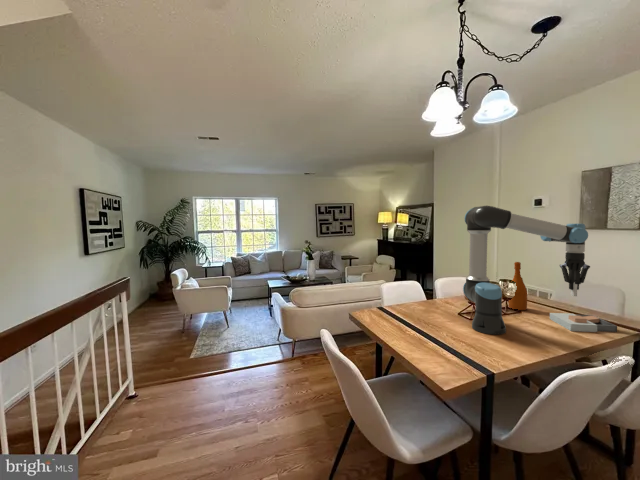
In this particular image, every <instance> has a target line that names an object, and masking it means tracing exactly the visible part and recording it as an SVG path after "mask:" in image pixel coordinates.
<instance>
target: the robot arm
mask: <svg viewBox="0 0 640 480" xmlns="http://www.w3.org/2000/svg"><path fill="white" fill-rule="evenodd" d="M464 223H465V224H466V227H467V228H466V231H467V232H468V233H469V265H468V266H469V267H468V276H466V278H465V283H464V284H463V286H462V287H463V288H462V291H463V294H464V295H465V297H466V298H467V299H468V300H469V301H471V302H473V303H475V305H474V306H475V314H474V317H473V318H472V321H471V328H472V329H473V330H474V331H476V332H479V333H482V334H488V335H498V336H499V335H504V334H506V333H507V326H506V324H505V321H504V319H503V314H502V312H503V311H502V309H503V307H502V306H503V303H502V302H503V299H502V298H503V292H502V288H501V287H500V285H498V284H496V283H493V282H492V283H491V282H490V279H489V277H487V271H488V269H487V268H488V267H487V266H488V265H487V263H488V234H489V233H490V232H491V231H492V229H494V228H496V229H502V230H505V229H509V230H515V231H517V232H518V231H520V232H523V233H528V234H532V235H536V236H539V237H540V239H541V240H542V241H543V242H549V243H550V242H558V243H560V242H561V243H565V261H564V263H562V264H559V267H560V268H561V272H562V276H563V279H564V282H566V283H568V290H570V296H571V297H578V291H579V290H580V285H581V284H583V283H585V280H586V277H587V275H588V274H587V273H588V271H589V269H590V268H591V266H590V265H588V264H586V262H585V251H586V241H587V240H588V237H589V232H588V231H587V229H586V225H585V223H566V225H565V224H564V225H563V224H560V223H556V222H551V221H548V220H542V219H537V218H532V217H529V216H525V215H521V214H515V213H513V212H512V211H511V210H507V209H504V208H499V207H496V206H492V205H480V206H474V207H472V208H470V209H469V210H467V211H466V213H465V215H464Z"/></svg>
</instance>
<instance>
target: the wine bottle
mask: <svg viewBox="0 0 640 480" xmlns="http://www.w3.org/2000/svg"><path fill="white" fill-rule="evenodd" d="M513 265H514V275H513V277H512V280H511V282H512V281H514V282H516V286H517V290H516V292H515V296H514V297H513V298H512V299H511V300H509V301H508V300H507V302H508V303H507V304H508V307H509V308H510V309H511V308H512V309H511V310H514V309H518V310H517V311H525V310H527V308H528V291H527V287H526V284H525V283H524V279H523V277H522V276H521V268H522V267H521V265H522V264H521V262H520V261H515V262H514V263H513Z"/></svg>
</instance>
